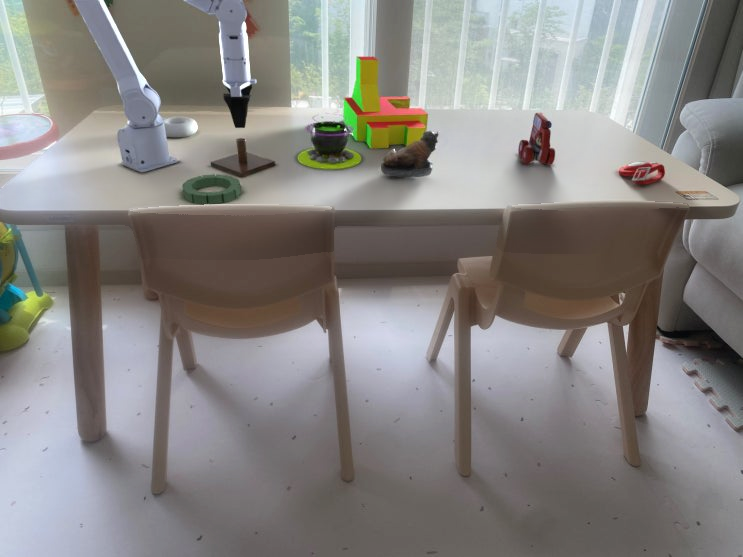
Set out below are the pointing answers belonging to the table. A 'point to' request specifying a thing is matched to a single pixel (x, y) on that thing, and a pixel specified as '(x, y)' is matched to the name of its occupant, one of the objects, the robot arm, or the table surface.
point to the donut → (179, 127)
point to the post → (242, 161)
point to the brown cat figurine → (411, 158)
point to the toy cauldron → (329, 146)
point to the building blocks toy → (380, 111)
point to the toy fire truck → (538, 142)
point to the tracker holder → (643, 171)
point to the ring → (211, 197)
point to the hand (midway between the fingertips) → (241, 122)
